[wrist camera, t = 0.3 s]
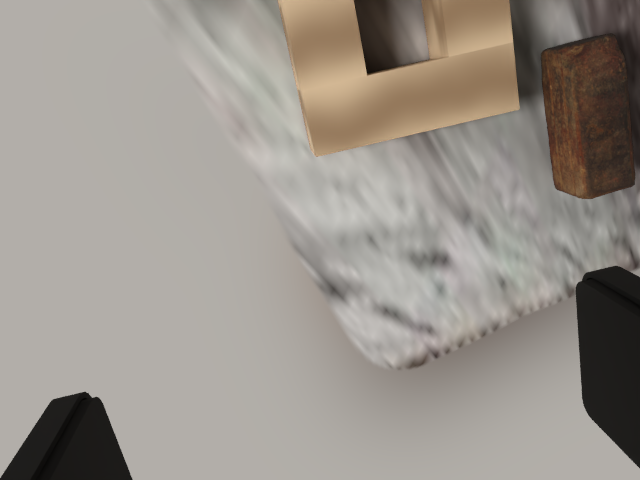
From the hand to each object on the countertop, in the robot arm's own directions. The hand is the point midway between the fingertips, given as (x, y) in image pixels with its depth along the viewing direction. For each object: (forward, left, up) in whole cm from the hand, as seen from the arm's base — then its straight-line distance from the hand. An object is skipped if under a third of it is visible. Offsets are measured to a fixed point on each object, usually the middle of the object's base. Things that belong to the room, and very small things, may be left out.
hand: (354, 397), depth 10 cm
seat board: (-8, +9, -30) cm, 32 cm away
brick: (+1, +22, -30) cm, 37 cm away
